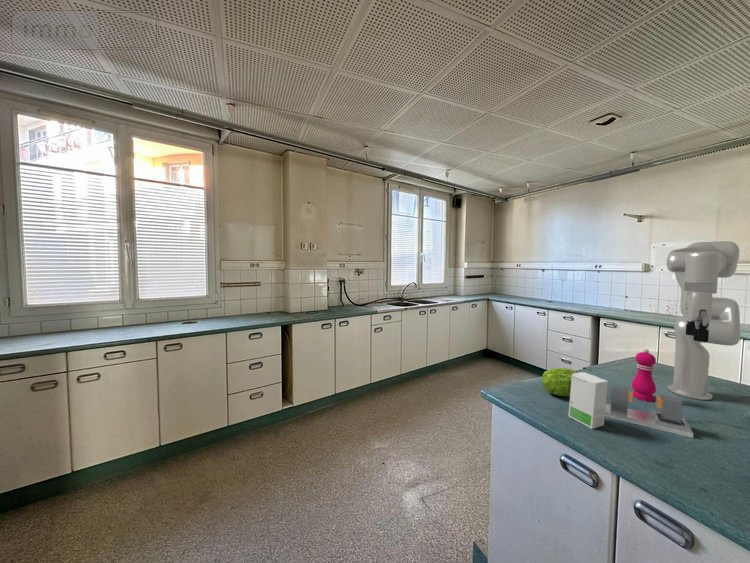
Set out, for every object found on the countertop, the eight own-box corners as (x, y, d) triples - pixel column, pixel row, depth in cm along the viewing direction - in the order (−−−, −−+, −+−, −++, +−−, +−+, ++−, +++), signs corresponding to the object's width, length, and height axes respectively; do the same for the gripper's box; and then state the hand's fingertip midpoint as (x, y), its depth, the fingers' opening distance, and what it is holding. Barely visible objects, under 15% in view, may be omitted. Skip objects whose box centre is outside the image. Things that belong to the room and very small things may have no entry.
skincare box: (567, 417, 102) (569, 373, 101) (580, 413, 104) (582, 371, 103) (593, 429, 94) (595, 383, 93) (606, 425, 96) (608, 379, 95)
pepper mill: (660, 403, 112) (663, 352, 111) (638, 401, 114) (641, 351, 112) (647, 394, 119) (650, 346, 118) (626, 393, 121) (629, 345, 119)
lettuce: (602, 379, 122) (575, 355, 131) (577, 390, 108) (550, 362, 117) (581, 395, 128) (557, 372, 137) (555, 408, 114) (530, 380, 123)
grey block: (677, 421, 96) (679, 398, 96) (680, 427, 93) (682, 403, 92) (654, 416, 99) (655, 393, 99) (656, 422, 96) (658, 398, 95)
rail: (601, 406, 109) (603, 382, 109) (686, 426, 96) (688, 398, 96) (602, 415, 103) (603, 389, 102) (692, 437, 90) (695, 408, 89)
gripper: (677, 286, 107) (674, 331, 108) (690, 289, 94) (687, 342, 95) (708, 287, 103) (704, 334, 104) (726, 291, 89) (722, 345, 90)
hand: (696, 338), depth 99 cm, fingers open, 9 cm apart
